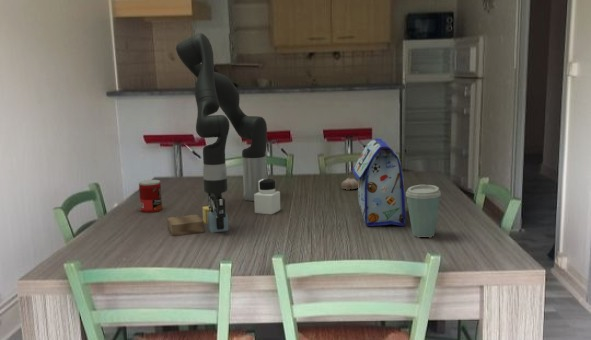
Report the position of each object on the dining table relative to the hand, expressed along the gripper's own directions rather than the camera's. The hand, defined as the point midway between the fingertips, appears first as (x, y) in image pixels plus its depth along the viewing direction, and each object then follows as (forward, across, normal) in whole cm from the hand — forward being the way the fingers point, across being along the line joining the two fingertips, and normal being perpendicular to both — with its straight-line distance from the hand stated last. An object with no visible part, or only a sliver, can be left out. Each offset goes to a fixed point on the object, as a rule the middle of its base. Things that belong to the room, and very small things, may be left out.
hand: (217, 226), depth 185 cm
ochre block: (+1, +11, 0) cm, 11 cm away
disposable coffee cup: (+1, -34, -56) cm, 66 cm away
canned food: (+1, +37, +17) cm, 41 cm away
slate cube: (+1, 0, 0) cm, 1 cm away
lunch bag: (+1, -11, -54) cm, 55 cm away
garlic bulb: (+1, +36, -66) cm, 75 cm away
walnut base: (+1, +4, +10) cm, 11 cm away
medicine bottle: (+1, +15, -22) cm, 27 cm away
